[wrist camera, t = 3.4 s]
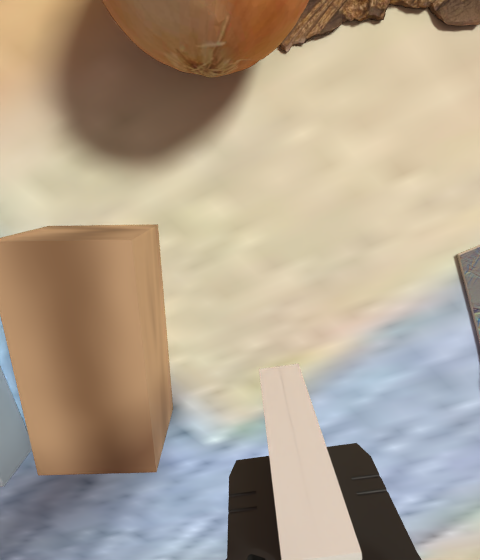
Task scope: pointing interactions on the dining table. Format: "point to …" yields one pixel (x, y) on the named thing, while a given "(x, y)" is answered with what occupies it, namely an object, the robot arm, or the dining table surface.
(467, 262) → the relief map
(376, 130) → the dining table surface
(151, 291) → the block
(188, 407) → the dining table surface
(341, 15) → the wooden fragment
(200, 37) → the onion
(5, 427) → the grey rectangular bar
